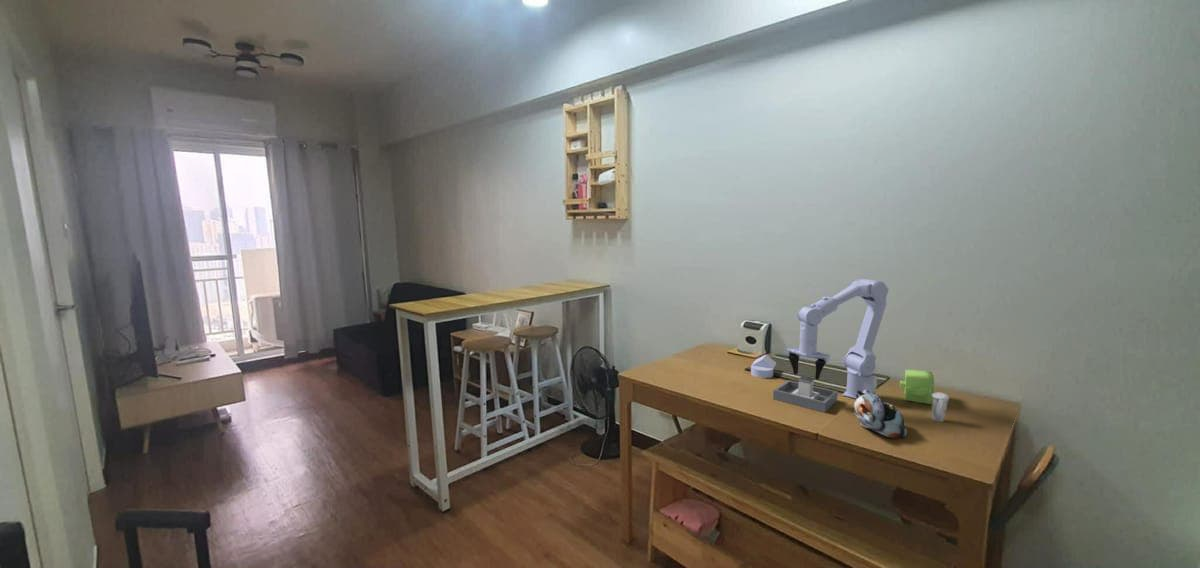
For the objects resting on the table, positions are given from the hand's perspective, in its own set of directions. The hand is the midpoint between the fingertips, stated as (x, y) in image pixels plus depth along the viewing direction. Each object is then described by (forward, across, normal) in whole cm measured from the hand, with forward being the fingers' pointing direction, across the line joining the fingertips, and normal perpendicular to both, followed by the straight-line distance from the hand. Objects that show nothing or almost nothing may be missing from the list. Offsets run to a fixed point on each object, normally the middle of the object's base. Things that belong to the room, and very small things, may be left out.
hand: (806, 376), depth 167 cm
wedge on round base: (+9, -24, +18) cm, 31 cm away
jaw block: (+8, 0, 0) cm, 8 cm away
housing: (+9, 0, 0) cm, 9 cm away
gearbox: (+10, +29, +30) cm, 43 cm away
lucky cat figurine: (+9, +26, -10) cm, 29 cm away
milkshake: (+9, +38, +12) cm, 41 cm away
